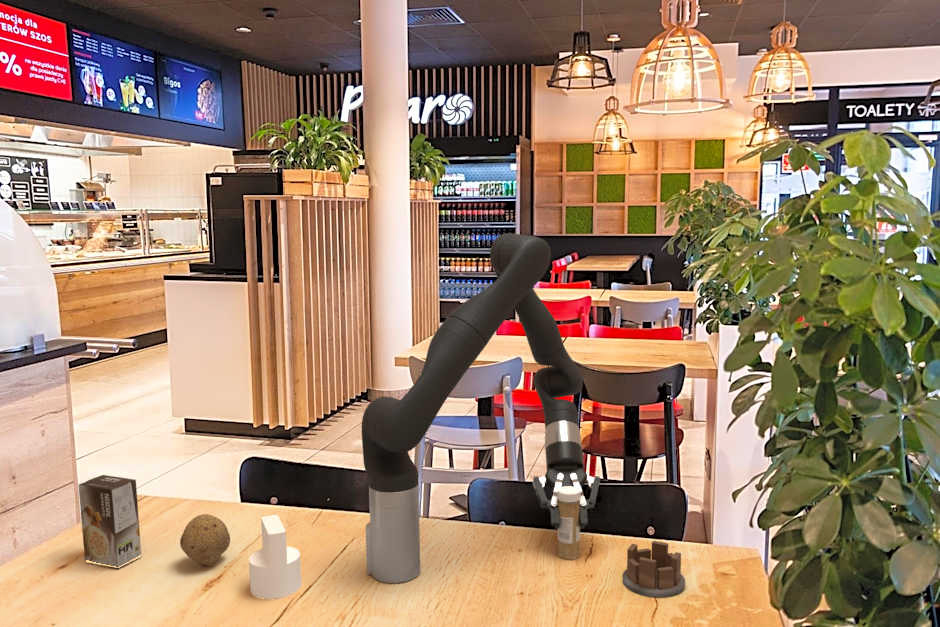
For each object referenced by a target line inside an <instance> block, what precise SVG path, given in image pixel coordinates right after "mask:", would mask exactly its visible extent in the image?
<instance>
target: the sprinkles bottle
mask: <svg viewBox="0 0 940 627" xmlns="http://www.w3.org/2000/svg"><path fill="white" fill-rule="evenodd" d="M557 499H558V504H557V507H558V512H559V529H557V545H558V547H557V556H559V558H562V559H566V560H574V559H578V558H579V557H580V556H581V555H582V554H581V544H580V543H581V529H580V499H581V491H580V489H579V488H577V487H573V486H564V487H560V488H558V490H557Z"/></svg>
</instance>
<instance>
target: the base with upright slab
mask: <svg viewBox="0 0 940 627" xmlns="http://www.w3.org/2000/svg"><path fill="white" fill-rule="evenodd" d="M260 521H261V542H262V548H261V549H258V550H256V551H254V552H253V553H252V554H250V556H249V558H248V569H249V585H250V587H249V588H250V594H251V593H252V594H253V595H255V596H256V597H259V598H264V599H275V600H277V599H276V598H281V599H283V598H282V597H285V598H287V597H286V596H288V597H290V596H289V595H291V594H293V593H295V592H296V591H297V590H298V589H299V588H300V587H301V588H302V570H301V567H302V566H301V553H300V550H299V549H297V548H295V547H293V546H288V545H287V530H286V529H285V527H284V525H283V523H282V521H281V519H280V517H279V515H278V514H273V515H266V516H262V517H261V518H260ZM301 588H300V589H301ZM300 589H299V590H300ZM299 590H298V591H299ZM298 591H297V592H298ZM297 592H296V593H297ZM296 593H295V594H296ZM252 594H251V595H252ZM253 595H252V596H253ZM293 595H294V594H293ZM291 596H292V595H291ZM256 597H255V598H256ZM259 598H258V599H259ZM264 599H263V600H264Z"/></svg>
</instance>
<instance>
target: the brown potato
mask: <svg viewBox="0 0 940 627" xmlns="http://www.w3.org/2000/svg"><path fill="white" fill-rule="evenodd" d="M179 540H180V542H179V544H180V549H181V550H182V551H183V552H184V554H185V555H186V556H187V557H188V558H190V559H191V560H193V561H194V562H196V563H198V564H199V565H201V566H204V565H210V566H212V565H214V564H215V563H216V562H217V561H218V559H219V558H220V557H221V556H222V555H223V554H224V553H225V552H226V551H227V550H228V548H229V547H230V543H231V535H230V533H229V530H228V527H227V526H226V524H225V522H223V520H221V519H220V518H219V517H217V516H215V515H213V514H205V513H204V514H199V515H197V516H195V517H193V518H192V519H191V520H189V522H188V523H187V525H186V526H185V528H184V530H183V532H182V535H181V536H180V539H179ZM211 564H212V565H211Z"/></svg>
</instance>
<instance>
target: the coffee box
mask: <svg viewBox="0 0 940 627" xmlns="http://www.w3.org/2000/svg"><path fill="white" fill-rule="evenodd" d="M78 495H79V506H80V517H81V529H82V541H83V542H82V543H83V553H84V561H85V560H89V561H92V562H96V563H101V564H106V565H111V566H116V567H119V566H121V565H123V564H125V563H127V562H129V561H130V560H132V559H134V558H136V557H138V556H139V555H141V556H142V547H141V534H140V531H141V530H140V520H139V519H140V518H139V507H138V506H139V505H138V504H139V503H138V491H137V479H134V478H128V477H126V478H125V477H121V476H120V477H119V476H113V475H107V474H106V475H105V474H102V475H99V476H96V477H93V478H91V479H88V480H87V481H85V482H81V483H78Z"/></svg>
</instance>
